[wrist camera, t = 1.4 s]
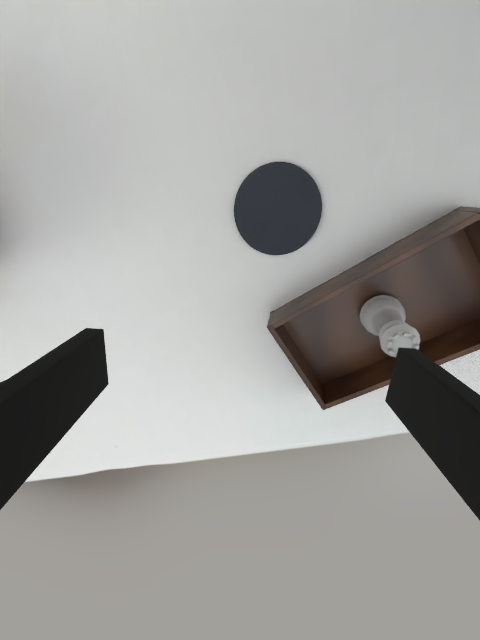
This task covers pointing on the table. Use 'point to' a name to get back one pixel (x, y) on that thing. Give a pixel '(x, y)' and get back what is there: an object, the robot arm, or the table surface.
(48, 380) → the robot arm
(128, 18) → the table surface
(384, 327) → the rook chess piece
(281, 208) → the coaster
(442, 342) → the tray
